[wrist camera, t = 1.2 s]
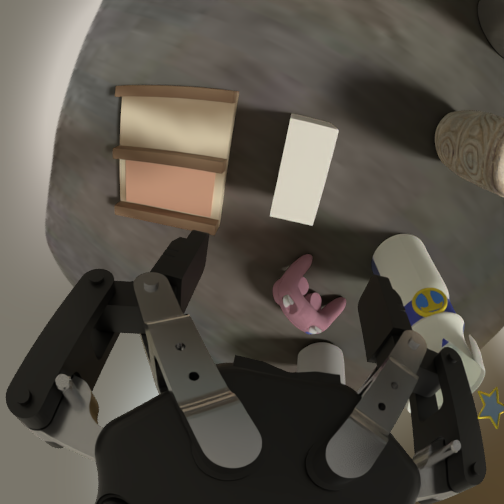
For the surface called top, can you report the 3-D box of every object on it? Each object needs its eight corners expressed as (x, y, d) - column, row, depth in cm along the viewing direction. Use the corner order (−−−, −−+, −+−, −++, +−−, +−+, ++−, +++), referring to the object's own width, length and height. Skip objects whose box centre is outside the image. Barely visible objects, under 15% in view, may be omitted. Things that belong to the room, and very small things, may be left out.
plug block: (291, 113, 26) (290, 118, 21) (330, 122, 25) (338, 130, 20) (274, 193, 31) (269, 216, 26) (310, 201, 30) (312, 225, 25)
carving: (482, 125, 21) (550, 153, 11) (457, 176, 25) (516, 223, 15) (445, 93, 21) (514, 105, 11) (418, 148, 25) (477, 186, 15)
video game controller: (284, 256, 36) (259, 298, 33) (311, 248, 33) (287, 295, 29) (324, 303, 40) (305, 344, 36) (350, 300, 36) (333, 345, 32)
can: (351, 346, 42) (357, 411, 32) (327, 370, 46) (327, 430, 36) (311, 333, 41) (310, 402, 31) (289, 359, 45) (284, 421, 35)
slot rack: (127, 85, 25) (115, 86, 23) (239, 91, 25) (234, 91, 23) (124, 206, 34) (115, 214, 32) (219, 225, 34) (214, 235, 31)
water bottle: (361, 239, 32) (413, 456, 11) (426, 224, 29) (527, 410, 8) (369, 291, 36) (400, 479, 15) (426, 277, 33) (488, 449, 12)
